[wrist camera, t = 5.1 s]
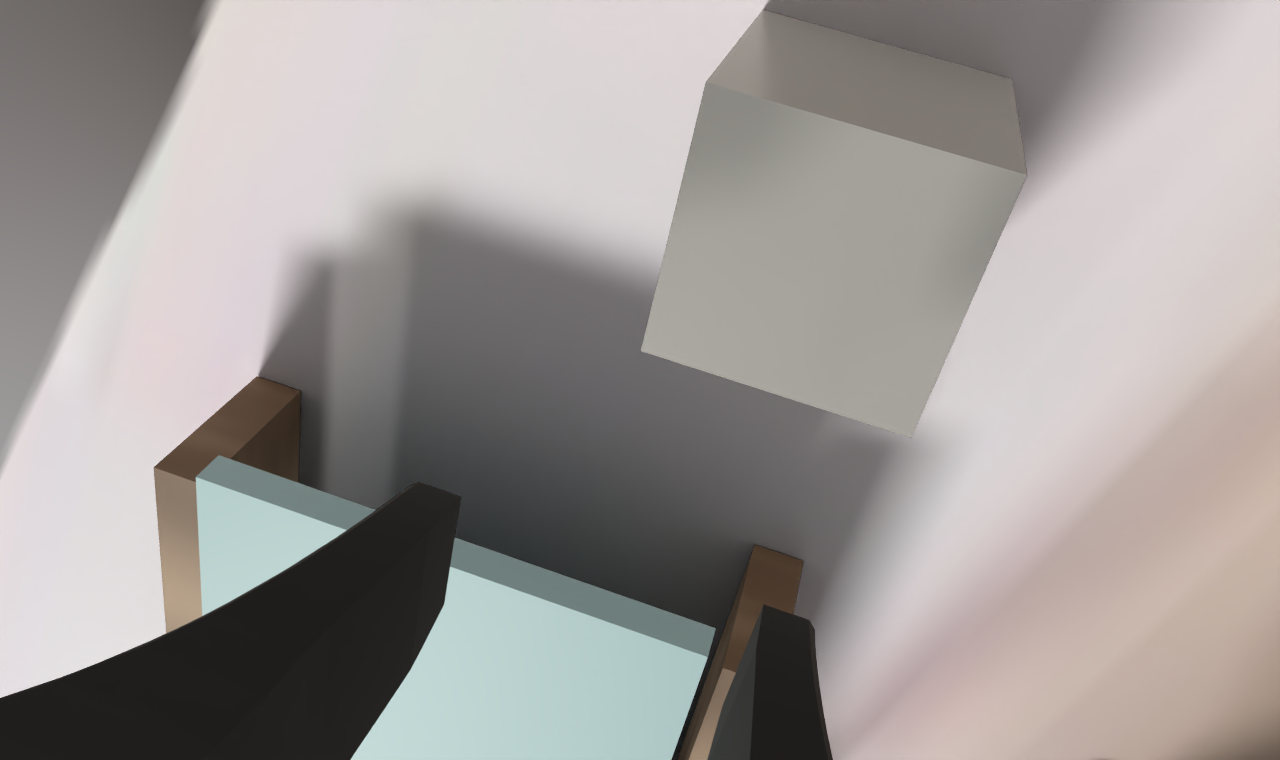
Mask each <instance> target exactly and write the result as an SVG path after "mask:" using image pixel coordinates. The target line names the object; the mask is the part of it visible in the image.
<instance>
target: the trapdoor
mask: <svg viewBox="0 0 1280 760" xmlns="http://www.w3.org/2000/svg"><path fill="white" fill-rule="evenodd" d="M196 494H197V515H198V536H199V557H200V578H201V599H202V616H203V615H205V614H207V613H209V612H211V611H213V610H215V609H217V608H219V607H221V606H222V605H224V604H226V603H228V602H230V601H232V600H233V599H235V598H237V597H239V596H240V595H242V594H244V593H246V592H247V591H249V590H251V589H253V588H254V587H256V586H258V585H260V584H261V583H263V582H265V581H267V580H269V579H270V578H272V577H274V576H276V575H277V574H279V573H281V572H282V571H284V570H286V569H287V568H289V567H291V566H292V565H294V564H295V563H297V562H299V561H300V560H302V559H303V558H305V557H306V556H308V555H309V554H311V553H313V552H314V551H316V550H317V549H319V548H320V547H322V546H324V545H325V544H327V543H328V542H330V541H331V540H333V539H334V538H336V537H338V536H339V535H340V534H342V533H343V532H345V531H346V530H348V529H349V528H351V527H352V526H354V525H355V524H357V523H358V522H360V521H361V520H362V519H364V518H365V517H367V516H368V515H370V514H371V513H372V512H374V511H375V509H372V508H369V507H366V506H363V505H360V504H358V503H355V502H352V501H349V500H346V499H343V498H340V497H337V496H335V495H332V494H329V493H326V492H323V491H320V490H317V489H315V488H312V487H309V486H306V485H303V484H300V483H297V482H294V481H292V480H289V479H286V478H283V477H280V476H277V475H274V474H271V473H269V472H266V471H263V470H260V469H257V468H254V467H251V466H248V465H246V464H243V463H240V462H237V461H234V460H231V459H228V458H226V457H223V456H220V455H219V456H217V457H216V458H215V459H214V460H213V461H212V462H211V463H210V464H209V465H208V466H207V467H206V468H205V469H204V470H203V471H202V472H201V473H199V474H198V475H197V476H196ZM715 630H716V628H714V627H711V626H708V625H705V624H702V623H699V622H696V621H693V620H691V619H688V618H685V617H682V616H679V615H676V614H673V613H671V612H668V611H665V610H662V609H659V608H656V607H653V606H650V605H648V604H645V603H642V602H639V601H636V600H633V599H630V598H627V597H625V596H622V595H619V594H616V593H613V592H610V591H607V590H604V589H602V588H599V587H596V586H593V585H590V584H587V583H584V582H582V581H579V580H576V579H573V578H570V577H567V576H564V575H561V574H559V573H556V572H553V571H550V570H547V569H544V568H541V567H538V566H536V565H533V564H530V563H527V562H524V561H521V560H518V559H515V558H513V557H510V556H507V555H504V554H501V553H498V552H495V551H493V550H490V549H487V548H484V547H481V546H478V545H475V544H472V543H470V542H467V541H464V540H461V539H458V538H454V545H453V551H452V558H451V564H450V570H449V577H448V583H447V590H446V596H445V602H444V606H443V608H442V610H441V612H440V614H439V616H438V618H437V620H436V622H435V624H434V626H433V627H432V629H431V631H430V633H429V635H428V637H427V639H426V641H425V643H424V645H423V647H422V649H421V651H420V653H419V655H418V657H417V659H416V660H415V662H414V664H413V666H412V668H411V670H410V671H409V673H408V674H407V676H406V678H405V679H404V681H403V682H402V684H401V685H400V687H399V688H398V690H397V691H396V693H395V694H394V696H393V697H392V699H391V700H390V702H389V703H388V705H387V706H386V708H385V709H384V711H383V712H382V714H381V715H380V717H379V718H378V720H377V721H376V723H375V724H374V726H373V727H372V728H371V730H370V731H369V733H368V734H367V736H366V737H365V739H364V740H363V742H362V743H361V745H360V746H359V748H358V749H357V751H356V752H355V754H354V755H353V757H352V758H351V760H671V759H672V756H673V754H674V751H675V748H676V745H677V742H678V740H679V737H680V734H681V731H682V728H683V726H684V723H685V720H686V717H687V714H688V712H689V709H690V706H691V703H692V700H693V698H694V695H695V692H696V689H697V686H698V684H699V681H700V678H701V675H702V672H703V670H704V667H705V664H706V661H707V658H708V655H709V651H710V648H711V644H712V641H713V637H714V634H715Z"/></svg>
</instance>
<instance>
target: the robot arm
mask: <svg viewBox="0 0 1280 760" xmlns="http://www.w3.org/2000/svg"><path fill="white" fill-rule="evenodd" d="M460 500H461V497H460V496H457V495H455V494H452V493H449V492H446V491H443V490H441V489H438V488H435V487H432V486H429V485H426V484H424V483H421V482H417V483H415V484H412V485H410V486H409V487H407V488H406V489H404V490H403V491H402V492H400V493H399V494H398V495H396V496H395V497H393V498H392V499H391V500H389V501H388V502H387V503H385V504H384V505H382V506H381V507H380V508H378V509H377V510H375V511H374V512H372V513H371V514H370V515H368V516H367V517H365V518H364V519H362V520H361V521H360V522H358V523H357V524H355V525H354V526H352V527H351V528H349V529H348V530H346V531H345V532H343V533H342V534H340V535H339V536H338V537H336V538H334V539H333V540H331V541H330V542H328V543H327V544H325V545H324V546H322V547H320V548H319V549H317V550H316V551H314V552H313V553H311V554H309V555H308V556H306V557H305V558H303V559H302V560H300V561H299V562H297V563H295V564H294V565H292V566H291V567H289V568H287V569H286V570H284V571H282V572H281V573H279V574H277V575H276V576H274V577H272V578H270V579H269V580H267V581H265V582H263V583H261V584H260V585H258V586H256V587H254V588H253V589H251V590H249V591H247V592H246V593H244V594H242V595H240V596H239V597H237V598H235V599H233V600H232V601H230V602H228V603H226V604H224V605H222V606H221V607H219V608H217V609H215V610H213V611H211V612H209V613H207V614H205V615H203V616H201V617H199V618H197V619H195V620H193V621H191V622H189V623H187V624H185V625H183V626H181V627H179V628H177V629H175V630H173V631H170V632H168V633H166V634H164V635H162V636H160V637H158V638H156V639H153V640H151V641H149V642H147V643H144V644H142V645H140V646H137V647H135V648H133V649H130V650H128V651H126V652H123V653H121V654H118V655H116V656H114V657H111V658H109V659H107V660H104V661H102V662H100V663H97V664H95V665H92V666H90V667H87V668H84V669H82V670H79V671H77V672H74V673H71V674H69V675H66V676H63V677H61V678H58V679H55V680H52V681H49V682H46V683H43V684H40V685H37V686H34V687H31V688H29V689H26V690H23V691H20V692H17V693H14V694H11V695H8V696H5V697H2V698H0V760H351V758H352V757H353V755H354V754H355V752H356V751H357V749H358V748H359V746H360V745H361V743H362V742H363V740H364V739H365V737H366V736H367V734H368V733H369V731H370V730H371V728H372V727H373V726H374V724H375V723H376V721H377V720H378V718H379V717H380V715H381V714H382V712H383V711H384V709H385V708H386V706H387V705H388V703H389V702H390V700H391V699H392V697H393V696H394V694H395V693H396V691H397V690H398V688H399V687H400V685H401V684H402V682H403V681H404V679H405V678H406V676H407V674H408V673H409V671H410V670H411V668H412V666H413V664H414V662H415V660H416V659H417V657H418V655H419V653H420V651H421V649H422V647H423V645H424V643H425V641H426V639H427V637H428V635H429V633H430V631H431V629H432V627H433V626H434V624H435V622H436V620H437V618H438V616H439V614H440V612H441V610H442V608H443V606H444V602H445V596H446V590H447V583H448V577H449V570H450V564H451V558H452V551H453V545H454V538H455V532H456V526H457V519H458V513H459V506H460ZM707 760H833V759H832V754H831V749H830V744H829V740H828V735H827V730H826V724H825V719H824V713H823V707H822V700H821V694H820V687H819V679H818V671H817V661H816V649H815V629H814V628H813V626H812V624H811V622H810V621H809V620H807V619H804V618H801V617H798V616H796V615H793V614H790V613H787V612H784V611H781V610H779V609H776V608H773V607H770V606H767V605H765V604H763V607H762V609H761V612H760V614H759V616H758V619H757V621H756V624H755V626H754V629H753V631H752V634H751V636H750V639H749V641H748V644H747V646H746V649H745V651H744V654H743V656H742V659H741V661H740V664H739V666H738V669H737V671H736V674H735V676H734V678H733V681H732V683H731V686H730V688H729V691H728V693H727V696H726V698H725V701H724V703H723V706H722V709H721V713H720V716H719V720H718V723H717V727H716V730H715V734H714V737H713V741H712V744H711V748H710V752H709V755H708V759H707Z"/></svg>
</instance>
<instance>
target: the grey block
mask: <svg viewBox="0 0 1280 760" xmlns="http://www.w3.org/2000/svg"><path fill="white" fill-rule="evenodd" d="M1026 177H1027V170H1026V164H1025V157H1024V151H1023V145H1022V138H1021V132H1020V125H1019V119H1018V112H1017V106H1016V99H1015V93H1014V86H1013V80H1012V79H1010V78H1006V77H1003V76H999V75H995V74H992V73H988V72H985V71H981V70H978V69H974V68H970V67H967V66H963V65H960V64H956V63H952V62H949V61H945V60H942V59H938V58H935V57H931V56H927V55H924V54H920V53H917V52H913V51H909V50H906V49H902V48H899V47H895V46H892V45H888V44H884V43H881V42H877V41H874V40H870V39H866V38H863V37H859V36H856V35H852V34H849V33H845V32H841V31H838V30H834V29H831V28H827V27H823V26H820V25H816V24H813V23H809V22H806V21H802V20H798V19H795V18H791V17H788V16H784V15H780V14H777V13H773V12H770V11H766V10H762V12H761V13H760V14H759V15H758V17H757V18H756V19H755V20H754V22H753V23H752V24H751V26H750V27H749V28H748V29H747V31H746V32H745V33H744V34H743V36H742V37H741V38H740V39H739V41H738V42H737V43H736V45H735V46H734V47H733V48H732V50H731V51H730V52H729V53H728V55H727V56H726V57H725V59H724V60H723V61H722V62H721V64H720V65H719V66H718V67H717V69H716V70H715V71H714V72H713V74H712V75H711V76H710V78H709V79H708V80H707V81H706V84H705V88H704V92H703V96H702V100H701V104H700V109H699V113H698V117H697V121H696V125H695V129H694V133H693V138H692V142H691V146H690V150H689V154H688V158H687V162H686V166H685V171H684V175H683V179H682V183H681V187H680V191H679V195H678V199H677V204H676V208H675V212H674V216H673V220H672V224H671V228H670V232H669V237H668V241H667V245H666V249H665V253H664V257H663V261H662V265H661V270H660V274H659V278H658V282H657V286H656V290H655V294H654V298H653V303H652V307H651V311H650V315H649V319H648V323H647V327H646V332H645V336H644V340H643V344H642V348H641V351H642V352H645V353H648V354H651V355H655V356H658V357H661V358H664V359H667V360H670V361H673V362H676V363H679V364H683V365H686V366H689V367H692V368H695V369H698V370H701V371H704V372H707V373H710V374H714V375H717V376H720V377H723V378H726V379H729V380H732V381H735V382H738V383H742V384H745V385H748V386H751V387H754V388H757V389H760V390H763V391H766V392H769V393H773V394H776V395H779V396H782V397H785V398H788V399H791V400H794V401H797V402H801V403H804V404H807V405H810V406H813V407H816V408H819V409H822V410H825V411H828V412H832V413H835V414H838V415H841V416H844V417H847V418H850V419H853V420H856V421H860V422H863V423H866V424H869V425H872V426H875V427H878V428H881V429H884V430H888V431H891V432H894V433H897V434H900V435H903V436H906V437H909V438H911V437H912V435H913V433H914V430H915V428H916V426H917V424H918V421H919V419H920V417H921V415H922V412H923V410H924V408H925V405H926V403H927V401H928V399H929V396H930V394H931V392H932V390H933V387H934V385H935V383H936V381H937V378H938V376H939V374H940V372H941V369H942V367H943V365H944V362H945V360H946V358H947V356H948V353H949V351H950V349H951V347H952V344H953V342H954V340H955V338H956V335H957V333H958V331H959V329H960V326H961V324H962V322H963V319H964V317H965V315H966V313H967V310H968V308H969V306H970V304H971V301H972V299H973V297H974V295H975V292H976V290H977V288H978V286H979V283H980V281H981V279H982V276H983V274H984V272H985V270H986V267H987V265H988V263H989V261H990V258H991V256H992V254H993V252H994V249H995V247H996V245H997V242H998V240H999V238H1000V236H1001V233H1002V231H1003V229H1004V227H1005V224H1006V222H1007V220H1008V218H1009V215H1010V213H1011V211H1012V209H1013V206H1014V204H1015V202H1016V199H1017V197H1018V195H1019V193H1020V190H1021V188H1022V186H1023V184H1024V181H1025V179H1026Z"/></svg>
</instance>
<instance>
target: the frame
mask: <svg viewBox="0 0 1280 760" xmlns="http://www.w3.org/2000/svg"><path fill="white" fill-rule="evenodd" d="M300 395H301V391H299V390H296V389H293V388H290V387H287V386H284V385H281V384H278V383H275V382H272V381H269V380H266V379H263V378H260V377H256V378H255V379H253V380H252V381H251V382H250V383H249V384H248V385H247V386H245V387H244V388H243V389H242V390H241V391H240V392H239V393H238V394H236V395H235V396H234V397H233V398H232V399H231V400H230V401H228V402H227V403H226V404H225V405H224V406H223V407H222V408H221V409H219V410H218V411H217V412H216V413H215V414H214V415H213V416H211V417H210V418H209V419H208V420H207V421H206V422H205V423H204V424H202V425H201V426H200V427H199V428H198V429H197V430H196V431H194V432H193V433H192V434H191V435H190V436H189V437H188V438H187V439H185V440H184V441H183V442H182V443H181V444H180V445H179V446H177V447H176V448H175V449H174V450H173V451H172V452H171V453H170V454H168V455H167V456H166V457H165V458H164V459H163V460H162V461H160V462H159V463H158V464H157V465H156V466H155V467H154V477H155V490H156V504H157V517H158V530H159V543H160V556H161V569H162V582H163V595H164V608H165V621H166V633H168V632H170V631H173V630H175V629H177V628H179V627H181V626H183V625H185V624H187V623H189V622H191V621H193V620H195V619H197V618H199V617H201V616H202V599H201V578H200V557H199V536H198V515H197V494H196V476H197V475H198V474H199V473H201V472H202V471H203V470H204V469H205V468H206V467H207V466H208V465H209V464H210V463H211V462H212V461H213V460H214V459H215V458H216V457H217V456H219V455H220V456H223V457H226V458H228V459H231V460H234V461H237V462H240V463H243V464H246V465H248V466H251V467H254V468H257V469H260V470H263V471H266V472H269V473H271V474H274V475H277V476H280V477H283V478H286V479H289V480H292V481H294V482H297V483H298V477H299V436H300ZM803 562H804V561H802V560H799V559H796V558H793V557H790V556H787V555H784V554H781V553H778V552H775V551H772V550H769V549H766V548H763V547H760V546H758V545H754V548H753V551H752V554H751V556H750V559H749V562H748V565H747V567H746V570H745V573H744V576H743V578H742V581H741V584H740V587H739V590H738V592H737V595H736V598H735V601H734V603H733V606H732V609H731V612H730V614H729V617H728V620H727V623H726V625H725V628H724V631H723V634H722V637H721V639H720V642H719V645H718V648H717V650H716V653H715V656H714V659H713V661H712V664H711V667H710V670H709V672H708V675H707V678H706V681H705V684H704V686H703V689H702V692H701V695H700V697H699V700H698V703H697V706H696V708H695V711H694V714H693V717H692V719H691V722H690V725H689V728H688V730H687V733H686V736H685V739H684V742H683V744H682V747H681V750H680V753H679V755H678V758H677V760H707V759H708V755H709V752H710V748H711V744H712V741H713V737H714V734H715V730H716V727H717V723H718V720H719V716H720V713H721V709H722V706H723V703H724V701H725V698H726V696H727V693H728V691H729V688H730V686H731V683H732V681H733V678H734V676H735V674H736V671H737V669H738V666H739V664H740V661H741V659H742V656H743V654H744V651H745V649H746V646H747V644H748V641H749V639H750V636H751V634H752V631H753V629H754V626H755V624H756V621H757V619H758V616H759V614H760V612H761V609H762V607H763V604H765V605H767V606H770V607H773V608H776V609H779V610H781V611H784V612H787V613H790V614H793V613H794V608H795V603H796V598H797V593H798V587H799V582H800V577H801V572H802V567H803Z"/></svg>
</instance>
